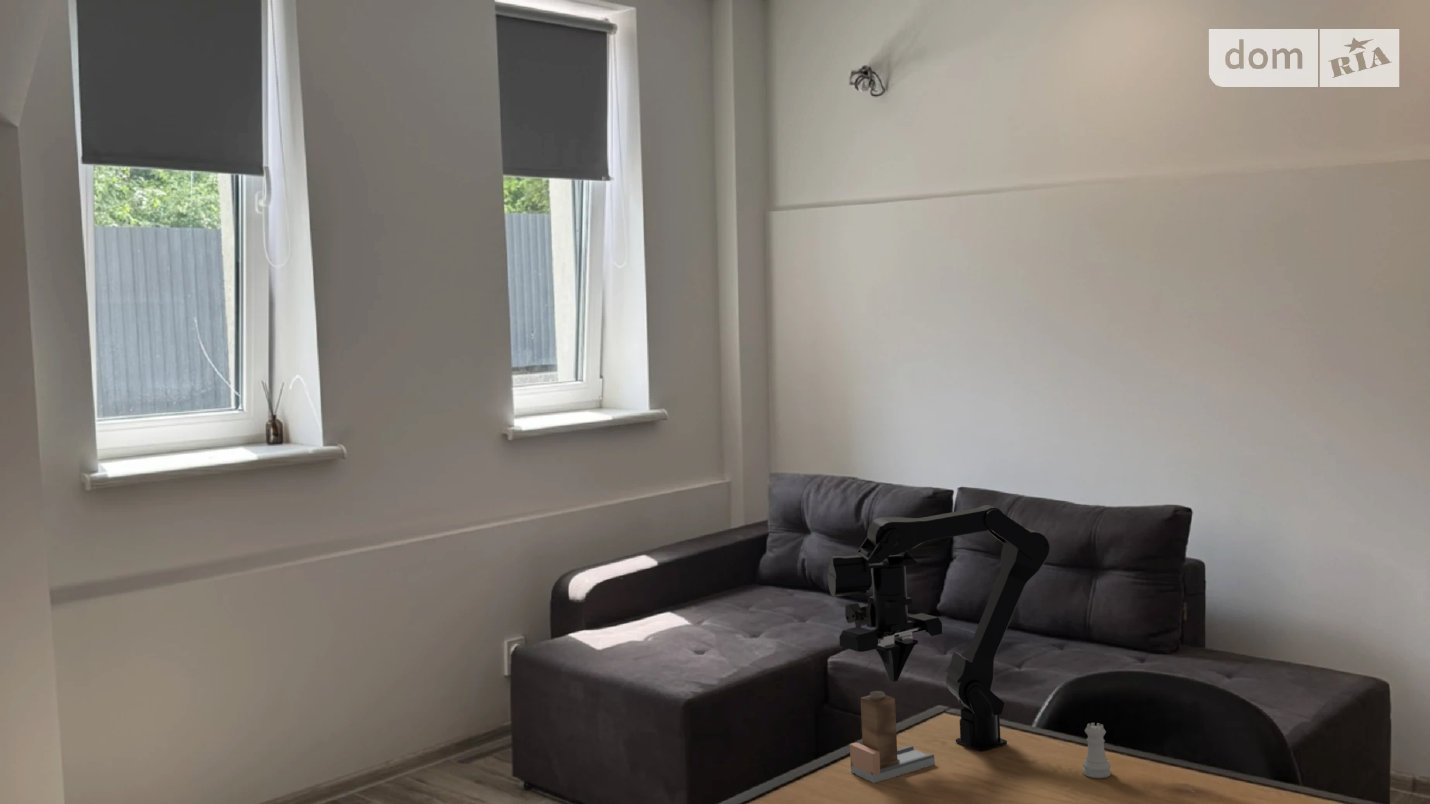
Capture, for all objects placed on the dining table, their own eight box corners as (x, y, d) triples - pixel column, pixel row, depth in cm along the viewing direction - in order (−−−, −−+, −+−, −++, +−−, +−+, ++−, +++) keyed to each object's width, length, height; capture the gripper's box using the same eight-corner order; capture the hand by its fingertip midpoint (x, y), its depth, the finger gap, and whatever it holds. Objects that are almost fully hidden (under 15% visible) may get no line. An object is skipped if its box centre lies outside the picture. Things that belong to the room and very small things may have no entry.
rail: (911, 754, 204) (909, 727, 204) (934, 764, 199) (933, 736, 199) (851, 772, 197) (849, 744, 197) (873, 783, 192) (872, 753, 192)
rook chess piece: (1113, 779, 188) (1111, 730, 188) (1083, 779, 189) (1082, 729, 189) (1109, 769, 193) (1107, 721, 192) (1081, 768, 194) (1079, 720, 193)
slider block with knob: (884, 757, 200) (880, 687, 199) (899, 764, 196) (896, 692, 196) (861, 764, 197) (858, 693, 197) (876, 771, 194) (873, 698, 193)
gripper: (901, 577, 216) (904, 661, 217) (818, 592, 206) (822, 681, 207) (943, 586, 206) (946, 674, 207) (858, 603, 197) (862, 696, 198)
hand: (893, 681), depth 205 cm, fingers closed
